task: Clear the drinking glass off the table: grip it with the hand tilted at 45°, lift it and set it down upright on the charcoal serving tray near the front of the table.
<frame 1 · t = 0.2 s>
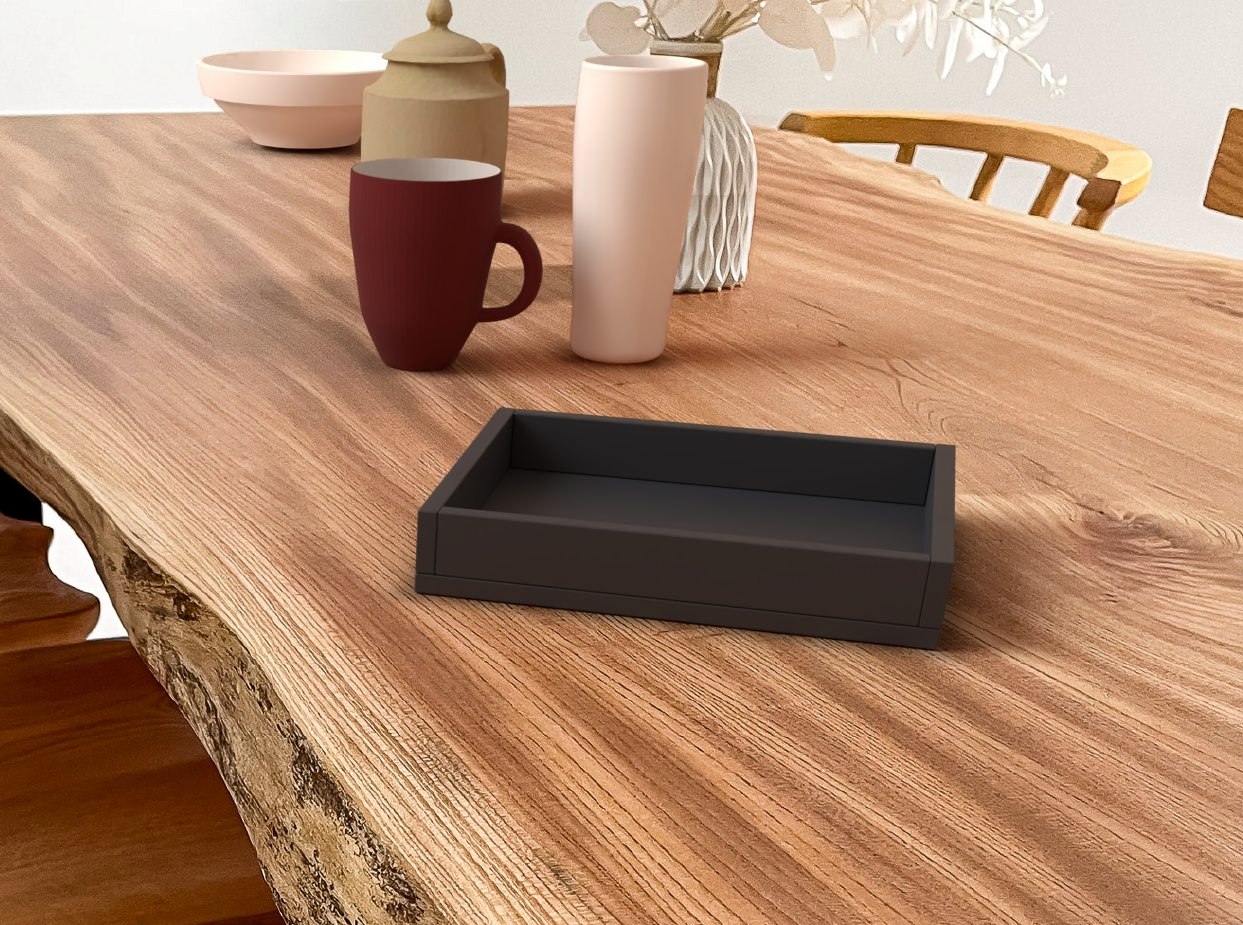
bowl: (304, 148, 174), on the table
sugar bowl: (431, 207, 148), on the table
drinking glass: (615, 358, 107), on the table
tray: (690, 555, 78), on the table
mug: (440, 367, 105), on the table
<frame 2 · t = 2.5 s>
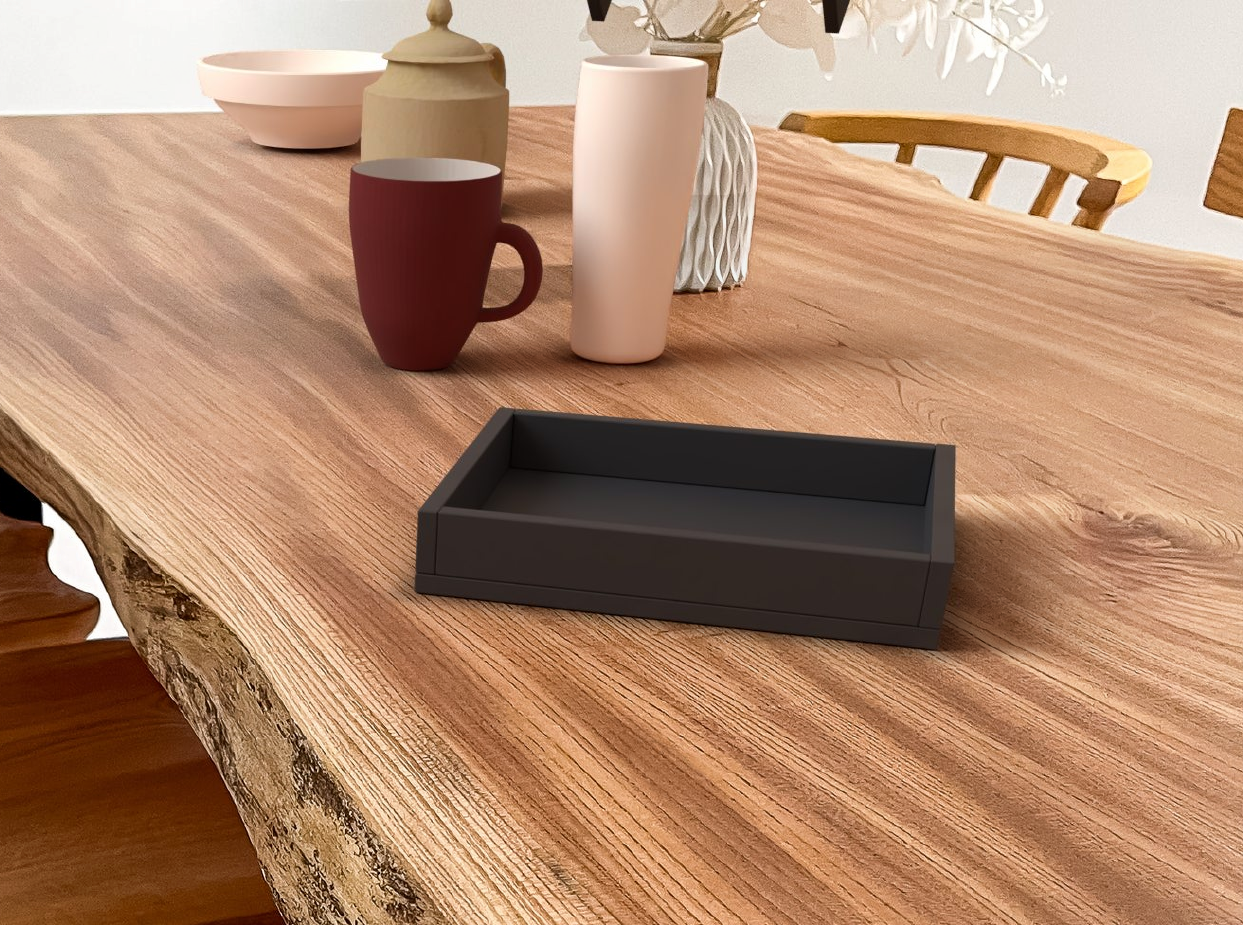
hand: (708, 10, 106), 17 cm above the table, tool tilted 45°, fingers open, 13 cm apart
nothing on the table moved.
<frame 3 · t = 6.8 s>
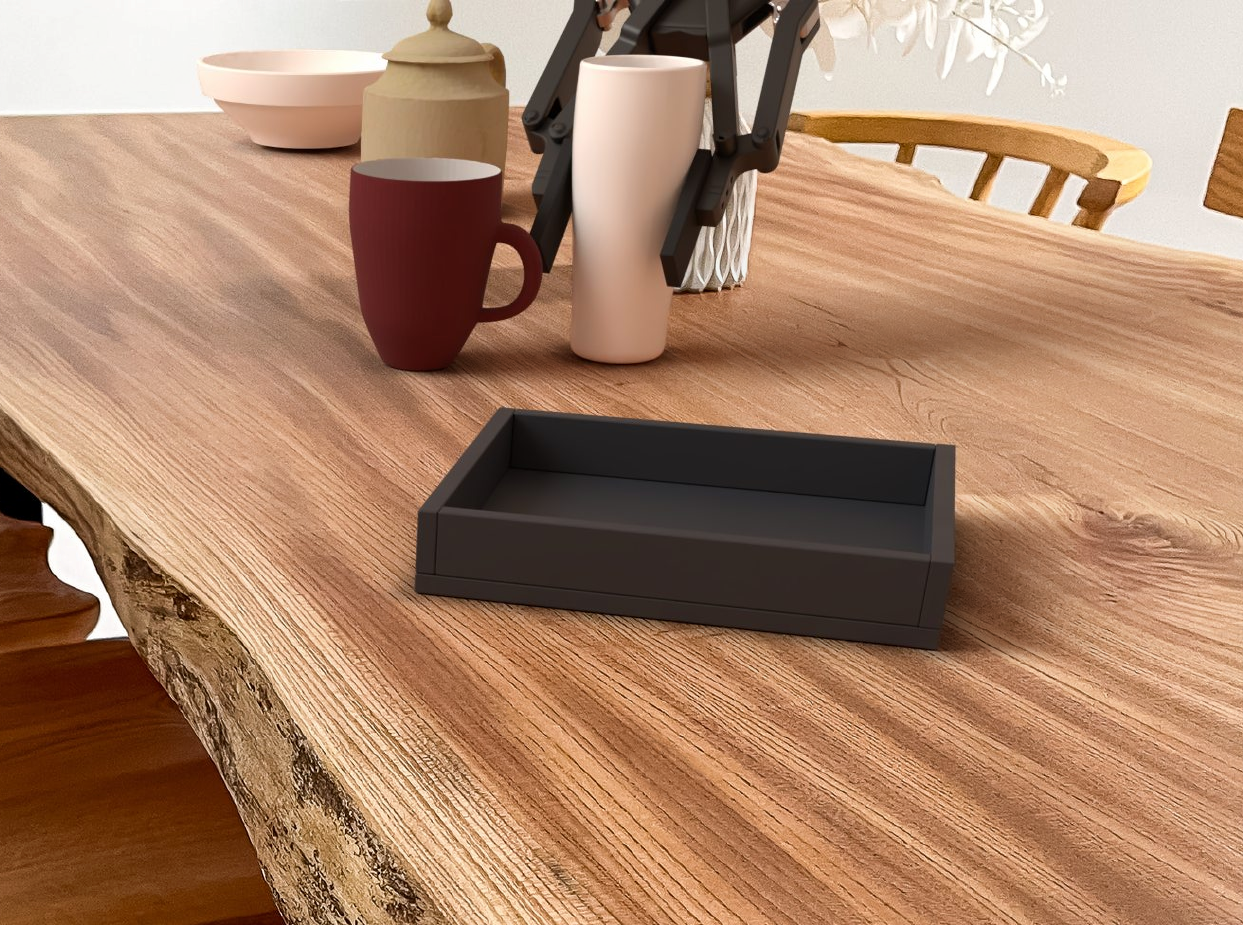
hand: (603, 264, 101), 5 cm above the table, tool tilted 45°, fingers closed on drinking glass, 7 cm apart
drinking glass: (616, 358, 107), on the table, touching gripper
everything else where it was.
when the fingers open (6 cm above the table, at t = 18.5 s): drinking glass stays where it is, resting on tray.
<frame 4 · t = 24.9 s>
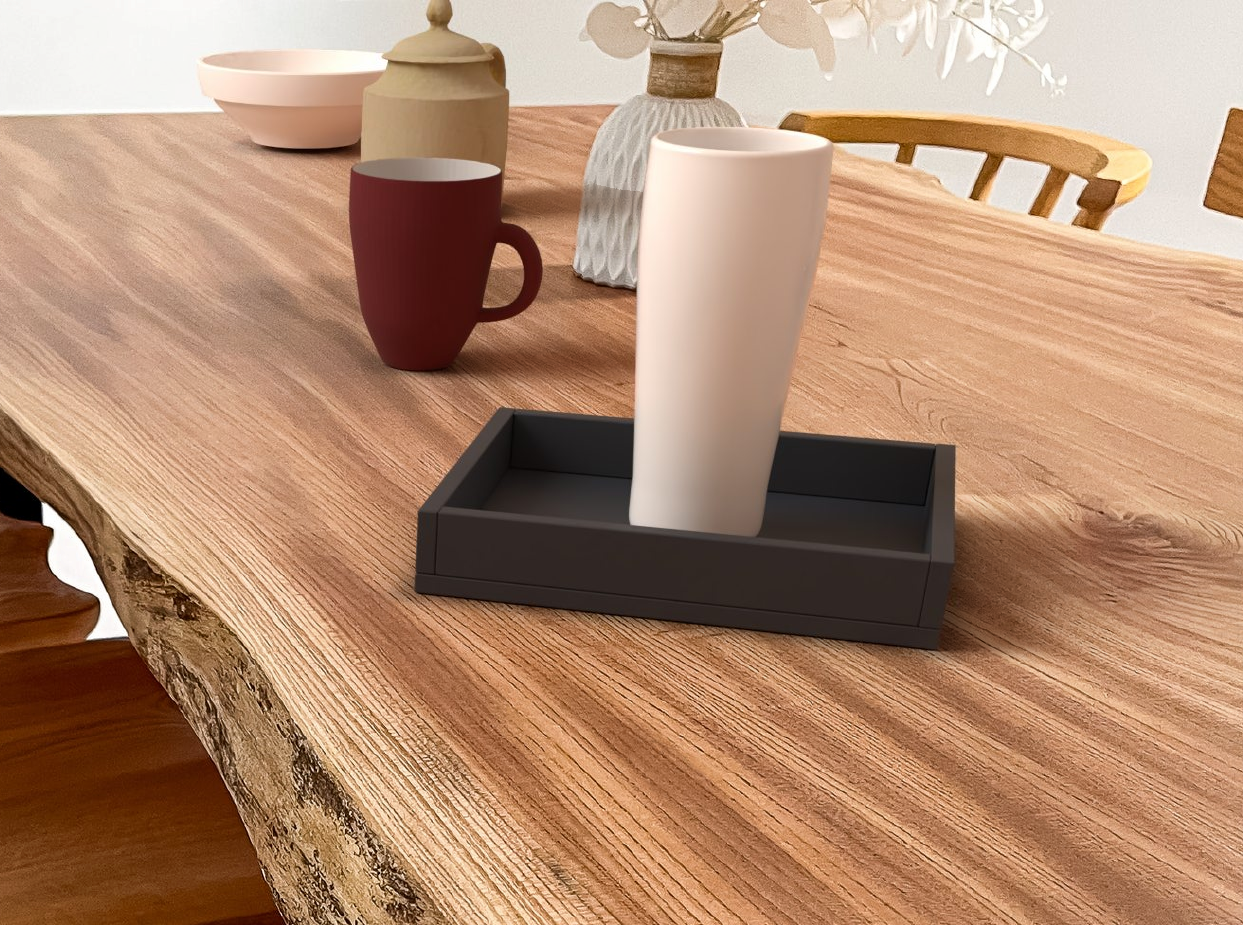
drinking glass: (692, 540, 78), point 1 cm above the table, touching tray
everything else where it was.
at the end: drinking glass inside the target area in the tray (0.0 cm from its centre), point 0.6 cm above the tray's base; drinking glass tilted 0°; the gripper is holding nothing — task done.
